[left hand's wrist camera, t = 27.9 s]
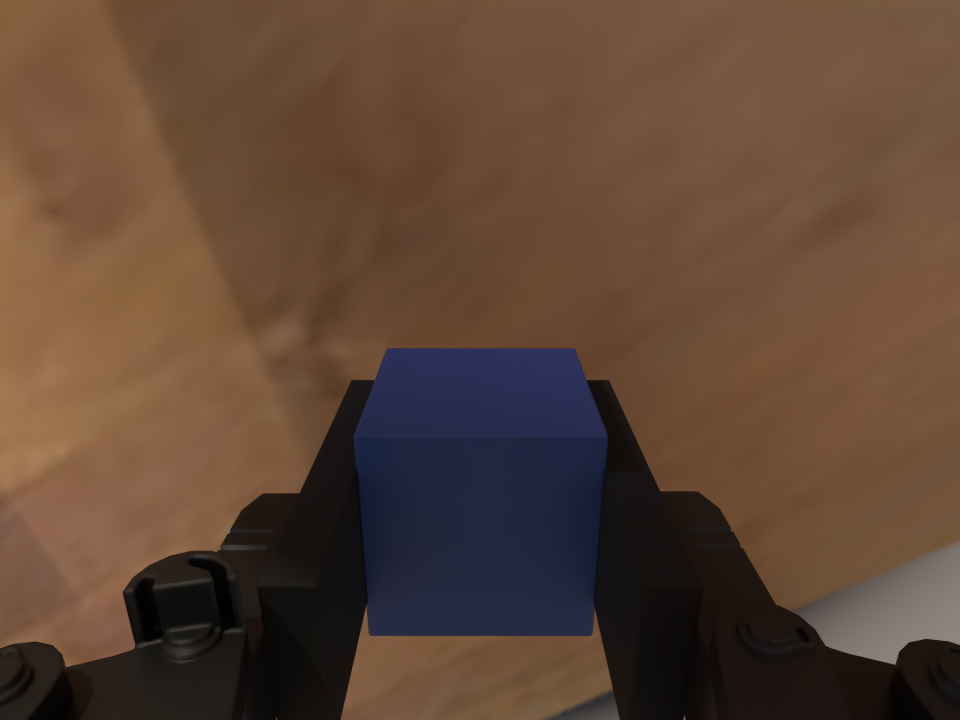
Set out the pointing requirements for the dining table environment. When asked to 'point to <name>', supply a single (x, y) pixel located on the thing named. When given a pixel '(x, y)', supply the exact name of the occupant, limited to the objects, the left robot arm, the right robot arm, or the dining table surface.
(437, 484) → the block
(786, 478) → the dining table surface
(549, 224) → the dining table surface
